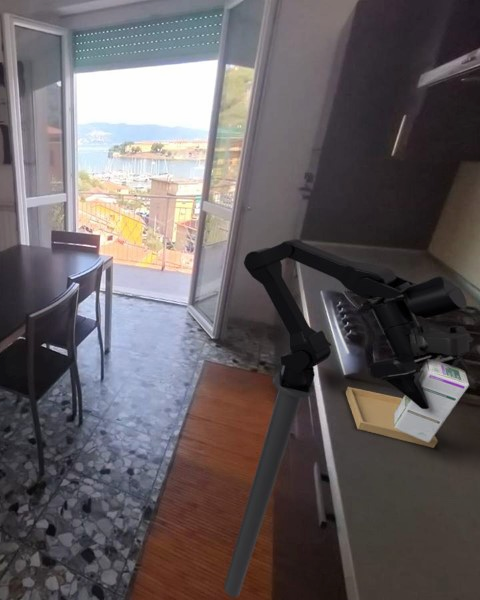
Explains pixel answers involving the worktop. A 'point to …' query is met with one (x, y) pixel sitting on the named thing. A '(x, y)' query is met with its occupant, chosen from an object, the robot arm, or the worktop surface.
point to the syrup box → (431, 400)
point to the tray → (379, 415)
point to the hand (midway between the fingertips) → (439, 403)
